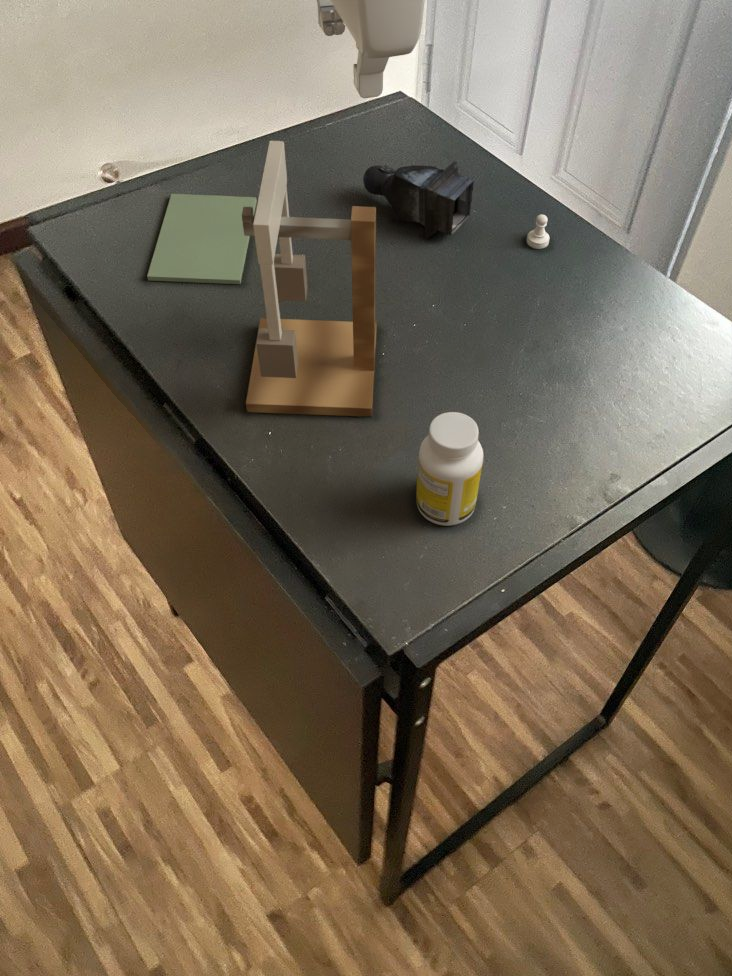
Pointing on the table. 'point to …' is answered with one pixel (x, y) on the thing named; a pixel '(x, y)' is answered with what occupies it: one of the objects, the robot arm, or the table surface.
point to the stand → (327, 332)
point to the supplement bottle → (449, 469)
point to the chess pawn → (539, 234)
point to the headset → (277, 268)
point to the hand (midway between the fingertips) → (349, 60)
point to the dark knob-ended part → (424, 195)
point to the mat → (202, 240)
